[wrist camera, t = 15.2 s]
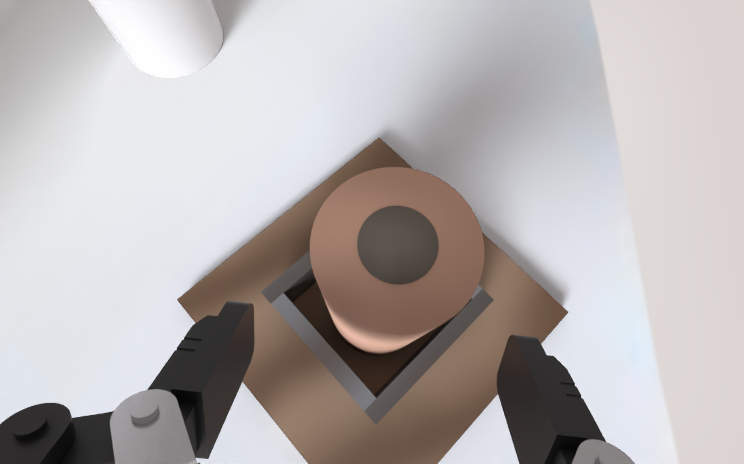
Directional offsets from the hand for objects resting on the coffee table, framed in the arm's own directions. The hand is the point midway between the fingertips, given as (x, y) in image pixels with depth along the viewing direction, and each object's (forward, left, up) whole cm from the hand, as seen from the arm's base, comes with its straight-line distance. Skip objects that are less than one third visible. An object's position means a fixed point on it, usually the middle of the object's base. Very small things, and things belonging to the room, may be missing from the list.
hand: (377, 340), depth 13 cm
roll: (-2, +2, -10) cm, 11 cm away
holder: (-2, +2, -11) cm, 12 cm away
